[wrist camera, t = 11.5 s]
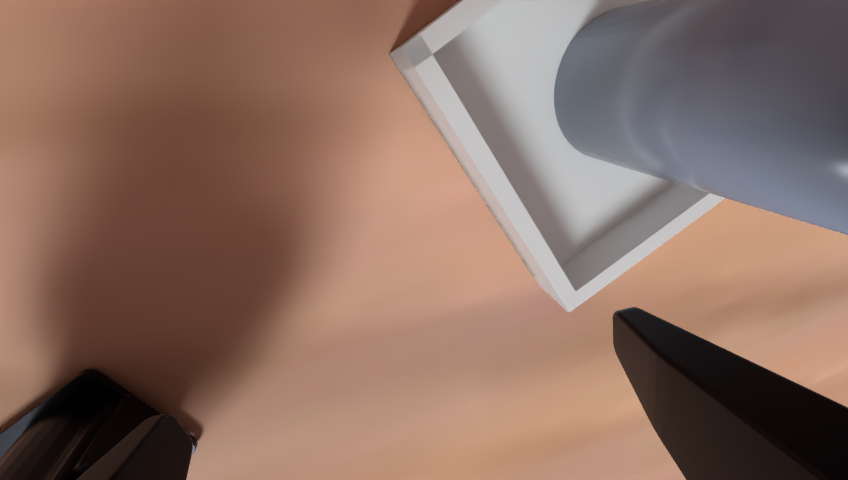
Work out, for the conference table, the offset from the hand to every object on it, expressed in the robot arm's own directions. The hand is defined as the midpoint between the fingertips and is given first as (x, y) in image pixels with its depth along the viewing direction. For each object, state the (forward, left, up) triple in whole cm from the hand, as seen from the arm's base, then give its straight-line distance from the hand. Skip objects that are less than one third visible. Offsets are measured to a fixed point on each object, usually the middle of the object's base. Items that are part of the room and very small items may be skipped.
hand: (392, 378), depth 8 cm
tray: (+13, -2, -12) cm, 18 cm away
